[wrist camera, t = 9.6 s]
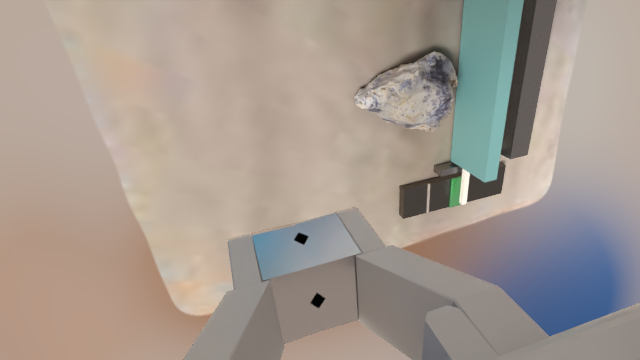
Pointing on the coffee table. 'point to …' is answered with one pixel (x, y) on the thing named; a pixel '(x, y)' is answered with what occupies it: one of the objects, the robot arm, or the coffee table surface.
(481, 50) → the gauge plate
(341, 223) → the robot arm
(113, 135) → the coffee table surface
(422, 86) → the mineral specimen
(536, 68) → the gauge frame
